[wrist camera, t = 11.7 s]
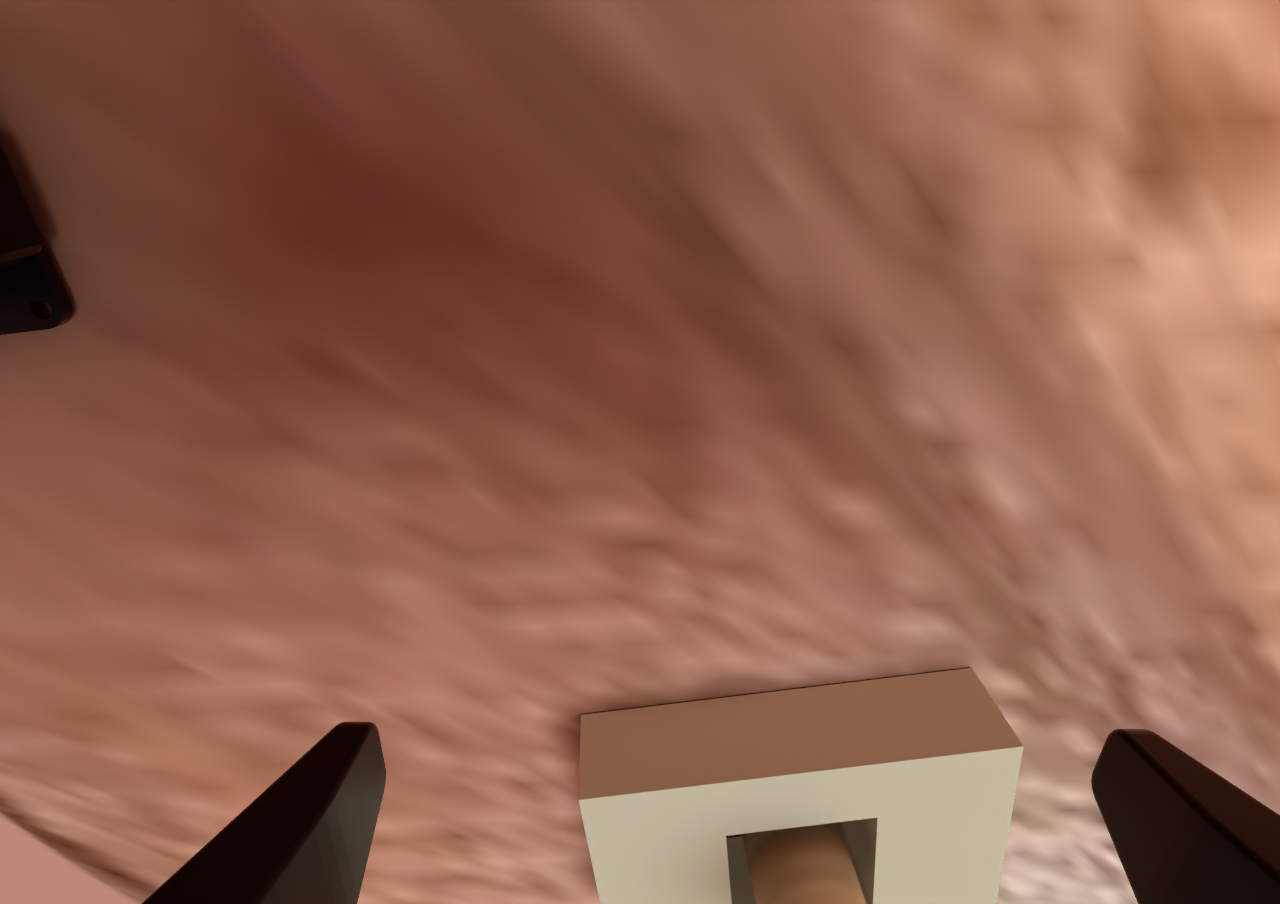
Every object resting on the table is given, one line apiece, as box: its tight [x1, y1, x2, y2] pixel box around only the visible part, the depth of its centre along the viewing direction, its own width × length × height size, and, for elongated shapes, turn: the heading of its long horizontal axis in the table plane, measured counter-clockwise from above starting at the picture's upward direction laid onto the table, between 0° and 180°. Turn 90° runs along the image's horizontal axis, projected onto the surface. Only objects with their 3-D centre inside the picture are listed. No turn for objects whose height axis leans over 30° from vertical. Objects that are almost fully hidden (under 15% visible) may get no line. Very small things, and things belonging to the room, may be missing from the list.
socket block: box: [579, 668, 1024, 904], centre depth 26 cm, size 14×10×4 cm
